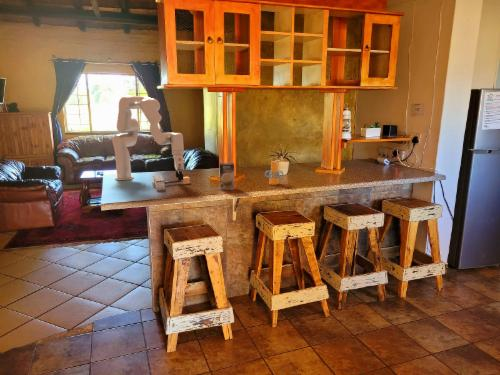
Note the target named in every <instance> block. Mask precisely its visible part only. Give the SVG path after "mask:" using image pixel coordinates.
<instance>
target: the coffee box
mask: <svg viewBox="0 0 500 375" xmlns="http://www.w3.org/2000/svg"><path fill="white" fill-rule="evenodd" d="M233 190H234V191H235V163H234V162H219V191H233Z"/></svg>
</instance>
